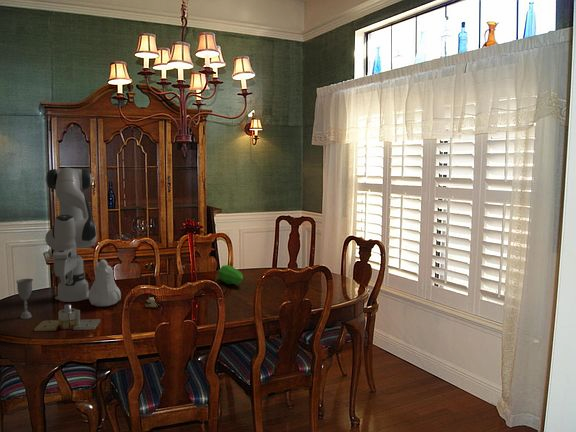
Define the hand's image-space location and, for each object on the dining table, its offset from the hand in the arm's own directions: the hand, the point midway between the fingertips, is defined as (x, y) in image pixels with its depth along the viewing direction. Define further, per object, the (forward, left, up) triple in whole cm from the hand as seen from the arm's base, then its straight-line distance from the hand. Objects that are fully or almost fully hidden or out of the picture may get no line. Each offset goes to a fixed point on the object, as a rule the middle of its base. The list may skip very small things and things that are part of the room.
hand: (66, 281), depth 224 cm
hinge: (0, 0, -21) cm, 21 cm away
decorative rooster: (-36, +8, -21) cm, 43 cm away
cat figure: (-31, +42, -22) cm, 56 cm away
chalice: (-15, -24, -21) cm, 36 cm away
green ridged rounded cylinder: (-72, +75, -21) cm, 106 cm away
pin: (0, 0, -21) cm, 21 cm away
